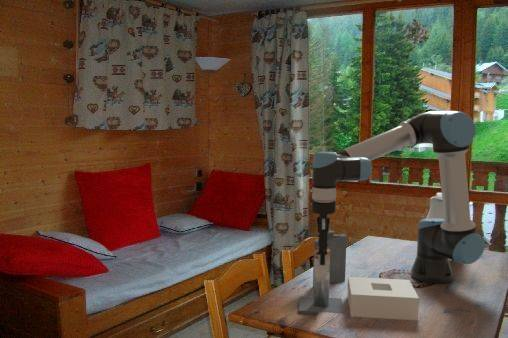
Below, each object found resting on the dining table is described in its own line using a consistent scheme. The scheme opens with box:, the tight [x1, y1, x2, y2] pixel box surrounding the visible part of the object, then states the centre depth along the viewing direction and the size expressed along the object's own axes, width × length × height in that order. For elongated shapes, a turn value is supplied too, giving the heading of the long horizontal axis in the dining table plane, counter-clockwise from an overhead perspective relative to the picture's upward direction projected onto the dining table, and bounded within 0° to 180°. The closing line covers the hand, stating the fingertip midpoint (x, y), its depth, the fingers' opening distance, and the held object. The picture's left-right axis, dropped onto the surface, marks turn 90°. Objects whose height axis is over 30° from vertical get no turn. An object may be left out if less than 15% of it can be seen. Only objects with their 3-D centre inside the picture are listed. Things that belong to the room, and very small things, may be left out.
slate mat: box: [298, 295, 345, 316], centre depth 157 cm, size 14×12×1 cm
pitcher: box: [425, 192, 453, 262], centre depth 214 cm, size 24×17×28 cm
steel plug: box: [313, 248, 330, 307], centre depth 156 cm, size 5×5×18 cm
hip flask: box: [312, 229, 347, 289], centre depth 178 cm, size 16×4×20 cm, turn 128°
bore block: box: [346, 276, 420, 321], centre depth 154 cm, size 20×16×8 cm
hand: (321, 270), depth 155 cm, fingers open, 7 cm apart
